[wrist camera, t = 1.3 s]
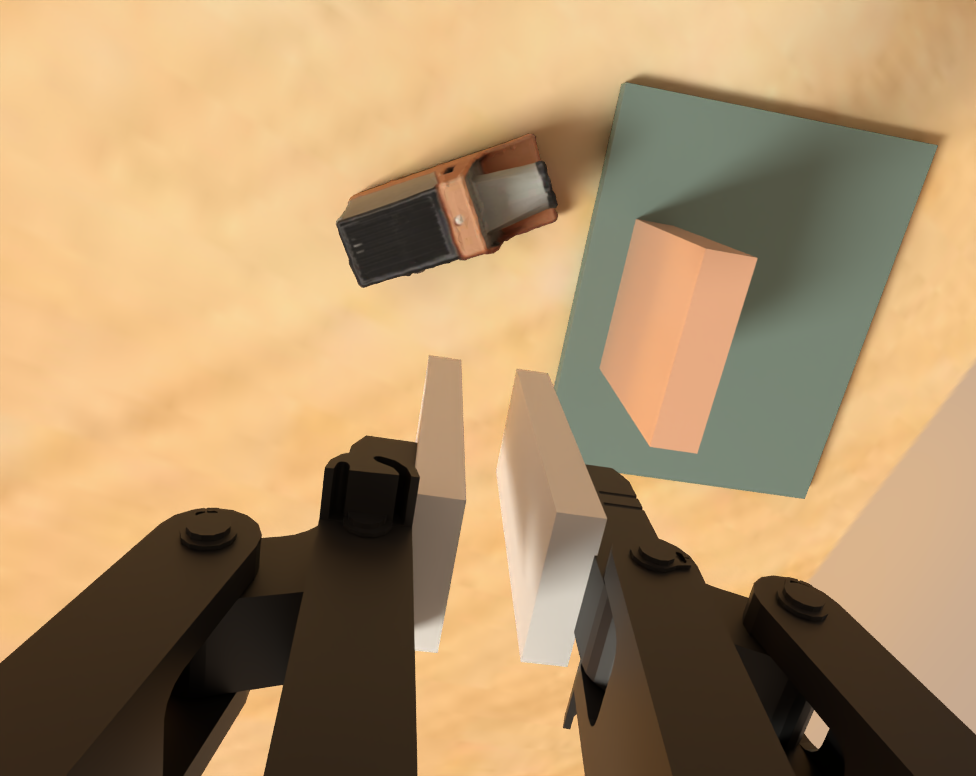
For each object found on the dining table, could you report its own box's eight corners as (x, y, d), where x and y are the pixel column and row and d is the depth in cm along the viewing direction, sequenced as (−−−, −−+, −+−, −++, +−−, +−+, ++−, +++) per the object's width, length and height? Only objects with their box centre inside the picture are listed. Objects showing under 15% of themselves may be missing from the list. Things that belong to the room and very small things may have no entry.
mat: (621, 84, 33) (626, 82, 32) (924, 145, 34) (938, 145, 33) (539, 454, 39) (541, 462, 38) (796, 490, 41) (804, 498, 40)
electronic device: (556, 218, 35) (581, 237, 28) (381, 279, 35) (361, 312, 28) (531, 131, 33) (550, 128, 26) (349, 196, 34) (319, 209, 27)
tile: (635, 218, 34) (705, 248, 24) (676, 226, 34) (761, 258, 25) (599, 368, 36) (649, 446, 27) (637, 374, 37) (700, 454, 27)
